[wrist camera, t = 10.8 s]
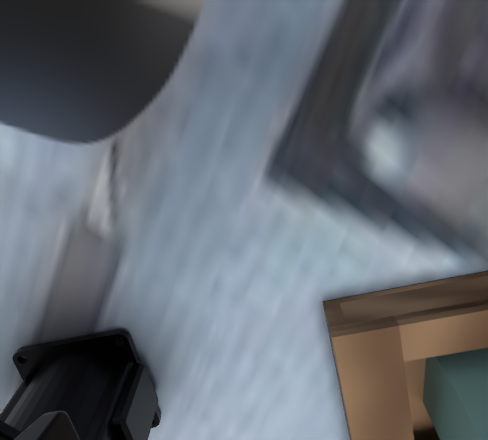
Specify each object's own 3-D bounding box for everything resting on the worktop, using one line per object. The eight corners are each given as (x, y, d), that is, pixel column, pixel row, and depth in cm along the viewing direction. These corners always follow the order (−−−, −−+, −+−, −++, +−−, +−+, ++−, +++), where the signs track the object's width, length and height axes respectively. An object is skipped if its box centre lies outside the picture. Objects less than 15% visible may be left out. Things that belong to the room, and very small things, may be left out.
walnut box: (353, 457, 27) (364, 505, 24) (322, 301, 23) (331, 337, 20) (583, 423, 26) (622, 470, 23) (591, 251, 22) (640, 283, 19)
